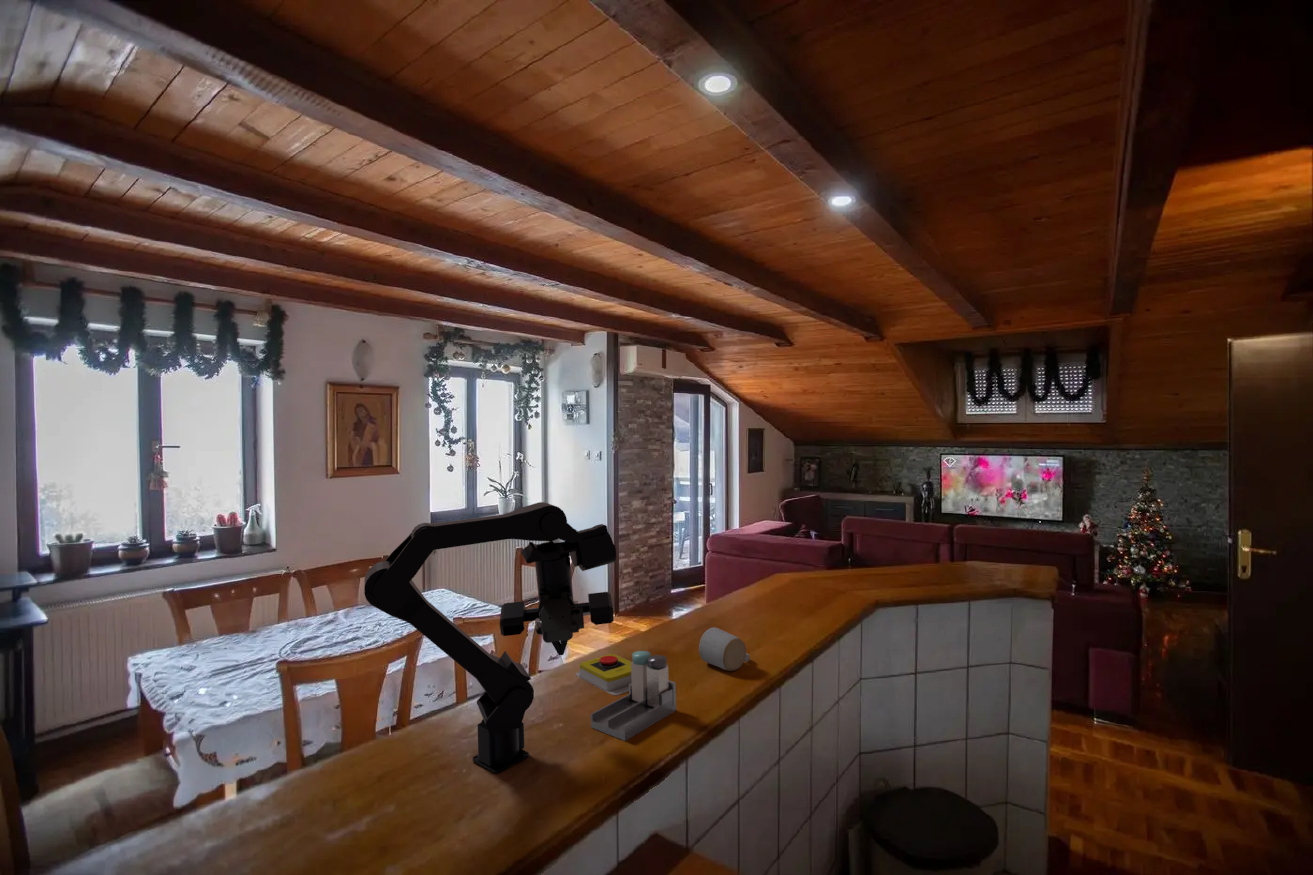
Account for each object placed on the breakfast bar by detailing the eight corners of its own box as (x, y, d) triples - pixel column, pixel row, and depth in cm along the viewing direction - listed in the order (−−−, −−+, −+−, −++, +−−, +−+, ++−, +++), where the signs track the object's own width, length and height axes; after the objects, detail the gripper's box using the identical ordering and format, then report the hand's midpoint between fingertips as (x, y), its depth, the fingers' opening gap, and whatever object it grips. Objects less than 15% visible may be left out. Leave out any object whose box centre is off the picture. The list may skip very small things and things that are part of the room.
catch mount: (625, 741, 102) (623, 681, 102) (591, 727, 107) (589, 670, 107) (676, 710, 113) (674, 656, 113) (643, 699, 118) (641, 647, 118)
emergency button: (609, 645, 137) (651, 664, 126) (609, 665, 137) (651, 685, 126) (573, 656, 131) (614, 676, 120) (573, 676, 131) (614, 698, 120)
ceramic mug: (725, 676, 128) (725, 639, 128) (698, 665, 134) (697, 630, 134) (759, 664, 135) (758, 629, 135) (731, 654, 141) (731, 621, 141)
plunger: (643, 704, 112) (642, 658, 112) (629, 699, 114) (628, 654, 114) (655, 698, 115) (654, 653, 115) (641, 693, 117) (640, 649, 117)
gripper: (492, 612, 93) (503, 694, 98) (615, 597, 96) (619, 678, 101) (497, 572, 104) (507, 649, 109) (608, 560, 106) (612, 636, 112)
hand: (561, 653), depth 107 cm, fingers closed
